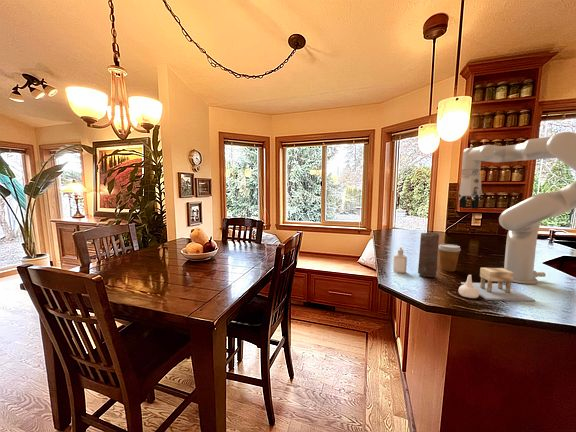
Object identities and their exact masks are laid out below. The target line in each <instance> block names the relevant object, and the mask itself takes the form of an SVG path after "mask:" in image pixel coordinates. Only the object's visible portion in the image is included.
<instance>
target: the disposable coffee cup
mask: <svg viewBox="0 0 576 432" xmlns="http://www.w3.org/2000/svg"><path fill="white" fill-rule="evenodd" d="M461 251H462V249H461V246H460V245H457V244H450V243H440V244H438V254H439V267H440V269H441V270H442V271H444V272H445V271H446V272H455V271H457V270H456V269H457V264H458V259H459V255H460V252H461Z"/></svg>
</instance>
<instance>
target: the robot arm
mask: <svg viewBox="0 0 576 432" xmlns="http://www.w3.org/2000/svg"><path fill="white" fill-rule="evenodd" d="M545 159H547V160H548V159H557V160H559V161H560V162H562V163H563V164H565V165H567V167H570V168H571V169H573V170H574V171H576V132H573V131H562V132H559V133H556V134H555V135H552V136H546V137H537V138H530V139H527V140H525V141H524V142H522V143H518V144H510V145H500V146H499V145H494V144H486V145H485V144H484V145H481V146H480V145H479V146H476V147H468V148H465V149H464V150H463V151H462V162H461V164H462V165H461V179H460V180H461V181H460V185H459V190H458V197H459V198H458V199H459V203H458V206H459V208H467V201H468V200H467V198H468V197H470V198H471V200H470V209H472V210H473V209H479V203H480V200H481V197H482V194H483V190H482V178H481V166H482V162H487V163H489V162H490V163H505V162H510V163H511V162H518V161H519V162H520V161H531V160H545ZM574 209H576V180H574V181H573V182H571V183H568V184H567V185H565V186H563V187H560V188H558V189H557V190H554V191H552V192H543V193H538V194H535V195H532V196H530V197H528V198H526V199H524V200H522V201H519V202H518V203H516V204H515V205H513V206H510V207H509V208H506V209H505V210H503V211H502V212H501V214H500V215H499V217H498V222H499V223H498V224H499V225H500V226H501V227H502V228H503V229H505V230H506V231H507V230H508V231H507V234H506V235H507V236H506V242H505V243H506V244H505V252H504V264H503V265H504V266H503V269H506V270H508V271H511V272H513V282H512V283H518V284H524V285H526V284H527V285H535V284H536V285H537V284H538V281H539V279H538V278H540V277H543V278H545V277H547V275H546V272H543V271H541V272H540V271H539V272H538V271H536V270H534V269H535V260H536V252H537V251H536V250H537V249H536V248H537V240H538V234H539V229H540V225H541V222H543V221H545V220H547V219H549V218H556V217H558V216H562V215H564V214H565V213H568V212H569V211H572V210H574Z"/></svg>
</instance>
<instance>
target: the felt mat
mask: <svg viewBox="0 0 576 432" xmlns="http://www.w3.org/2000/svg"><path fill="white" fill-rule="evenodd" d="M465 284H466V281H465V282H464V281H463V282H462V281H461V282H460V285H465ZM480 284H481V282H472V285H473V286H474V287H476V288H477V289H478V291H479V296H480V297H482V298H483V299H484V300H486V301H487V300H488V301H508V302H509V301H511V302H512V301H513V302H531V301H535V302H536V299H534V298H532V297H530V296H528V295H526V294H524V293H522V292H520V291H517V290H516V289H513V288H512V287H511V288H510V293H505V287H506V284H503V287H502V289H498V282H497V283H496V282H495V283H493V282H492V293H489V292H487V284H488V282H485V289H482V288H480Z"/></svg>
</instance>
